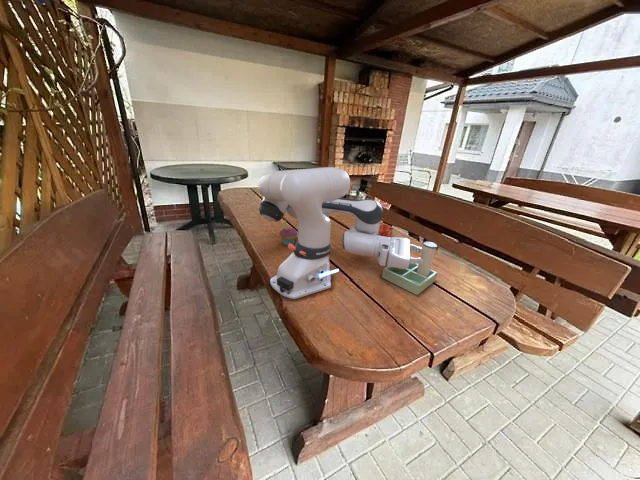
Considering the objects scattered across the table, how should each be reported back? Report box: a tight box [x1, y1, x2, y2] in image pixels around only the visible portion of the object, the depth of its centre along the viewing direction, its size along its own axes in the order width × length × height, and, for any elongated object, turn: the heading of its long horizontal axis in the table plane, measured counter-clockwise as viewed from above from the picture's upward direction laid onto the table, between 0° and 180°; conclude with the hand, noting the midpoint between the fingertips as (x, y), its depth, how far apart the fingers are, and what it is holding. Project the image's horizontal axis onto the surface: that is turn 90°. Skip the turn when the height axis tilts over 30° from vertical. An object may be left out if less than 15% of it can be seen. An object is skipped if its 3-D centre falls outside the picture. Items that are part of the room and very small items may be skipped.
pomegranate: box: [378, 223, 394, 238], centre depth 134 cm, size 7×7×10 cm
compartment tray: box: [381, 263, 438, 296], centre depth 98 cm, size 14×14×4 cm
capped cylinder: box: [416, 241, 438, 278], centre depth 96 cm, size 5×5×14 cm
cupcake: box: [278, 220, 298, 246], centre depth 119 cm, size 9×8×12 cm
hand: (422, 255), depth 95 cm, fingers open, 8 cm apart
